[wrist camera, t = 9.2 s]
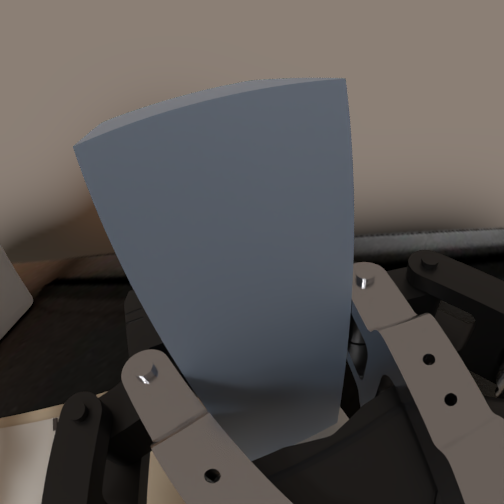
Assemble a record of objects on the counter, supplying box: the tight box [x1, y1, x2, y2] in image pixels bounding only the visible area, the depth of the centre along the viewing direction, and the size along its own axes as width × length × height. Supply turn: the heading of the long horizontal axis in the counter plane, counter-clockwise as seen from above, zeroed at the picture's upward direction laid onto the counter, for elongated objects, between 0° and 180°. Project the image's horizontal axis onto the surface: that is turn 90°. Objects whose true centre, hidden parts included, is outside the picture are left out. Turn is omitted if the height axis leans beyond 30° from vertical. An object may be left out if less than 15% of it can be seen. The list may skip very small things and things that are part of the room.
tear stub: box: [73, 78, 354, 461], centre depth 9 cm, size 5×7×13 cm
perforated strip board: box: [0, 391, 207, 504], centre depth 10 cm, size 26×10×2 cm, turn 112°
